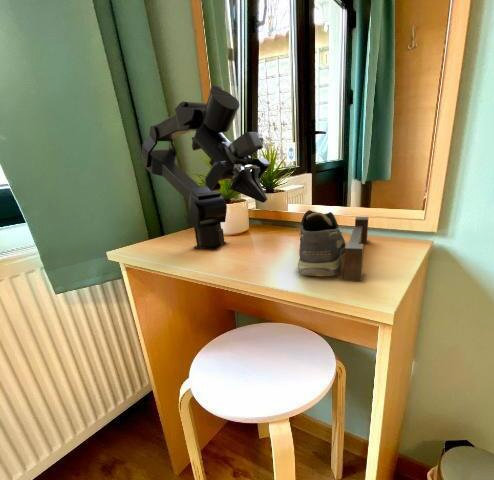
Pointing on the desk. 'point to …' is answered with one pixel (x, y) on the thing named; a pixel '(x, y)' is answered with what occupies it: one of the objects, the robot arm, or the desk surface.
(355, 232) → the rail
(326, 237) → the boat shoe
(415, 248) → the desk surface
